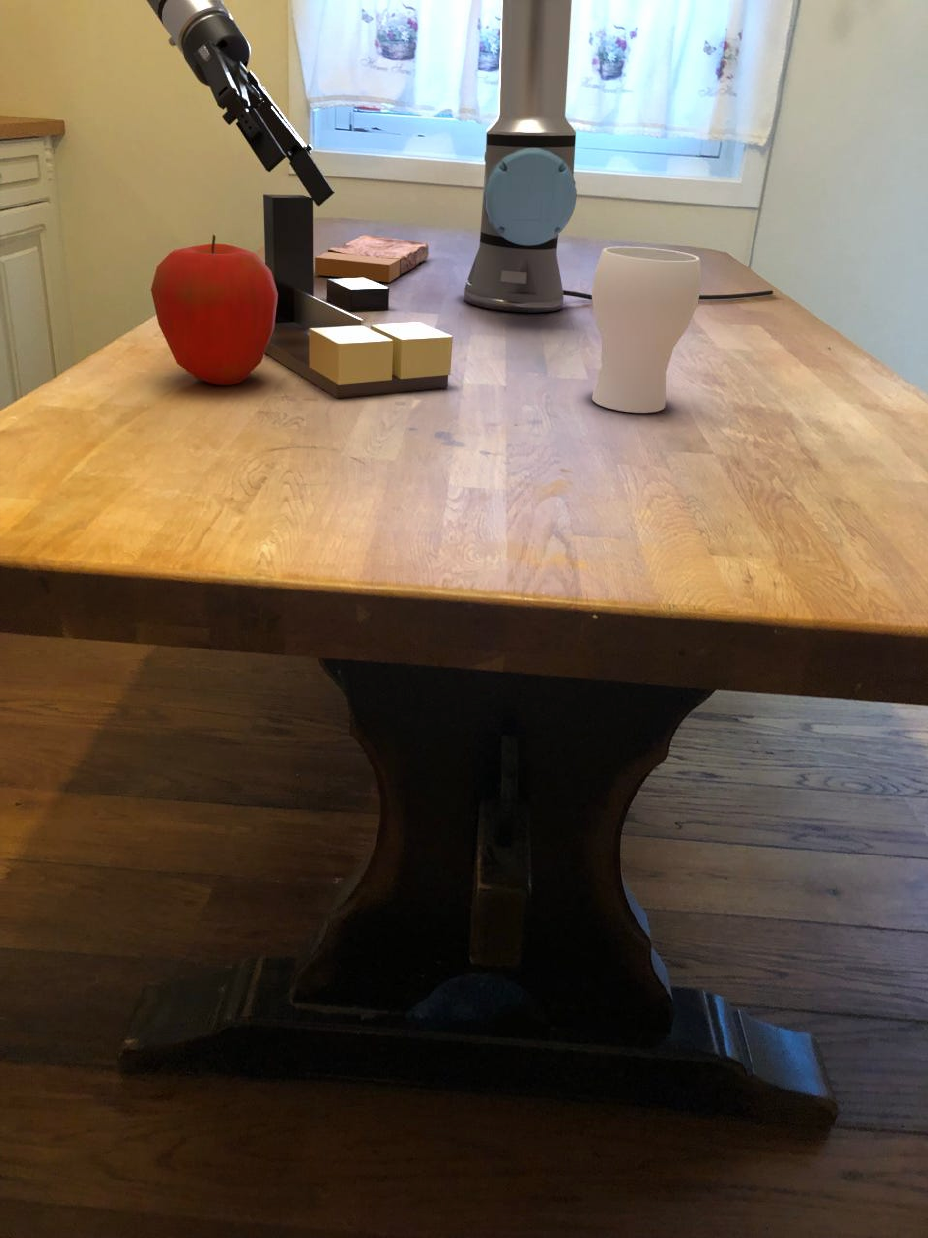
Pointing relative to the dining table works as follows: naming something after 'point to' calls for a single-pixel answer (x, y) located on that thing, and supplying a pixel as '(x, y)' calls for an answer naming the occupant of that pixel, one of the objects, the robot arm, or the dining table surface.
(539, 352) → the dining table surface
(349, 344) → the butter
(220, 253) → the apple
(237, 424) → the dining table surface
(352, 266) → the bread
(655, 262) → the cup
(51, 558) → the dining table surface
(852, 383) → the dining table surface
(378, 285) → the dark rectangular block
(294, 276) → the butter slicer
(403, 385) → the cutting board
